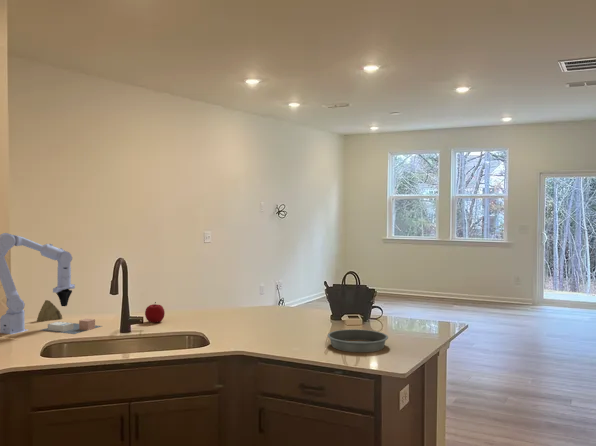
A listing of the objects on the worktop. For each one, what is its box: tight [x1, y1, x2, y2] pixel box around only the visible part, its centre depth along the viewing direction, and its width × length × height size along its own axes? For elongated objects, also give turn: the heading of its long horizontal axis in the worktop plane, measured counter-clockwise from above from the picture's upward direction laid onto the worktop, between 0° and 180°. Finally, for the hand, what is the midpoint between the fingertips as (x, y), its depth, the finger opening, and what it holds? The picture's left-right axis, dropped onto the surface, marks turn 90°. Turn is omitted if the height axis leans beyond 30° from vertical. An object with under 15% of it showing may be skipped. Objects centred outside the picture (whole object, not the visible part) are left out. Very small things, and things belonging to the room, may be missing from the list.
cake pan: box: [327, 328, 389, 353], centre depth 228 cm, size 25×25×4 cm
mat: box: [40, 322, 103, 335], centre depth 255 cm, size 18×20×1 cm
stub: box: [78, 318, 96, 331], centre depth 254 cm, size 4×5×4 cm
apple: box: [144, 301, 165, 324], centre depth 273 cm, size 9×9×10 cm
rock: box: [36, 299, 63, 322], centre depth 274 cm, size 11×9×10 cm
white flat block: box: [47, 321, 73, 332], centre depth 252 cm, size 6×9×3 cm, turn 69°
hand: (64, 306), depth 260 cm, fingers closed
